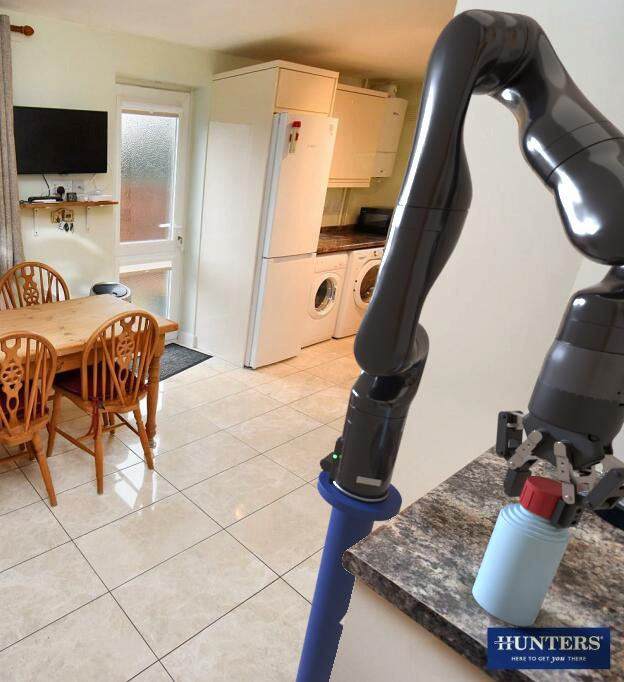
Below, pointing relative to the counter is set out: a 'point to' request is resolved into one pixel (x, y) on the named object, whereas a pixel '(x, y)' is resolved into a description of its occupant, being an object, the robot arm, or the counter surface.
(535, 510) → the cap
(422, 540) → the counter surface
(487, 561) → the bottle
